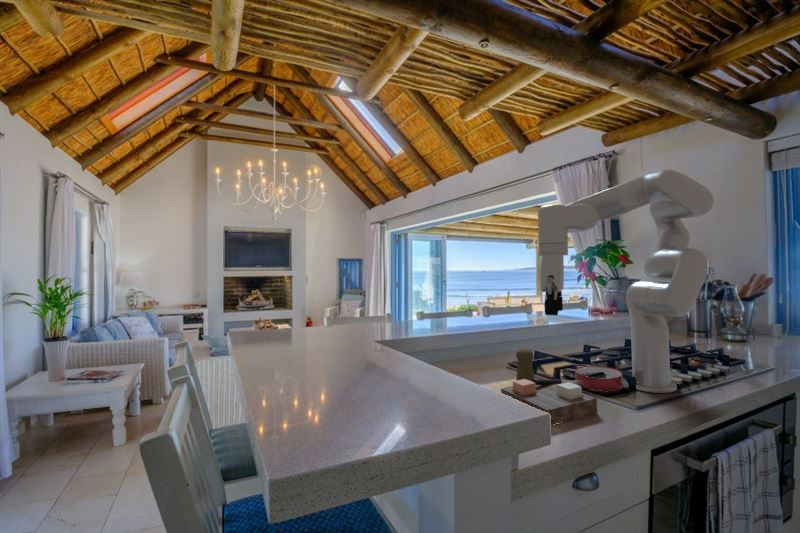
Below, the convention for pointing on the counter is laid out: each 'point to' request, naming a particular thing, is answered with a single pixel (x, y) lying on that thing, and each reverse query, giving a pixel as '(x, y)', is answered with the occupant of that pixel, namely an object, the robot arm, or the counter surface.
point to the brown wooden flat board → (556, 403)
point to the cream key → (569, 390)
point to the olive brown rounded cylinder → (525, 365)
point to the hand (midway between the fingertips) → (554, 312)
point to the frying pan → (591, 379)
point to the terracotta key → (524, 387)
